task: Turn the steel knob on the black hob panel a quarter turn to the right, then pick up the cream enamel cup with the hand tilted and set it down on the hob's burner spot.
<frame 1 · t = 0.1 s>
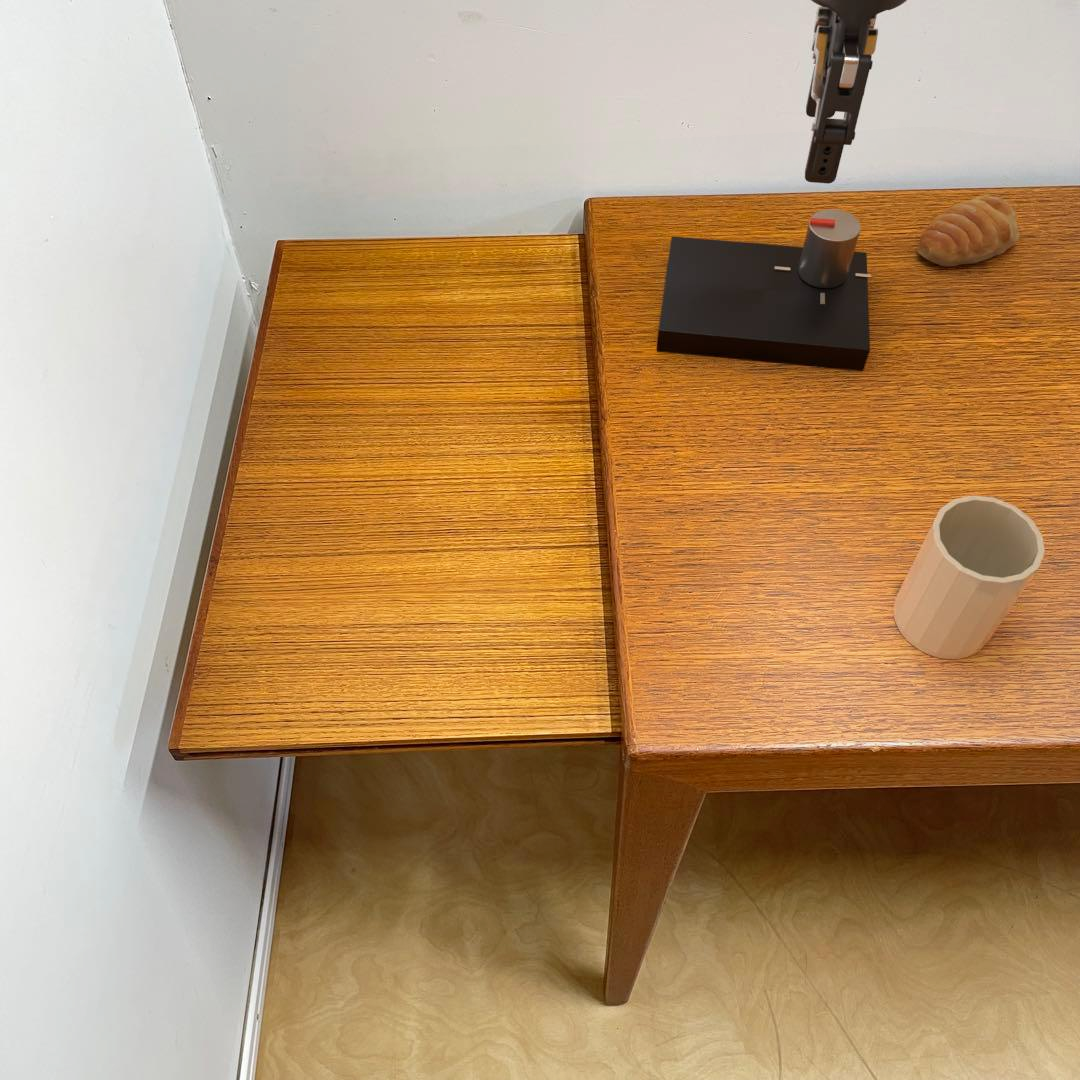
hand: (819, 146, 75), 18 cm above the table, tool pointing down, fingers open, 8 cm apart
hob: (761, 311, 91), on the table
cup: (941, 618, 72), on the table
pastry: (964, 247, 96), on the table
knob: (828, 247, 88), point 5 cm above the table, hinge at 0.0°
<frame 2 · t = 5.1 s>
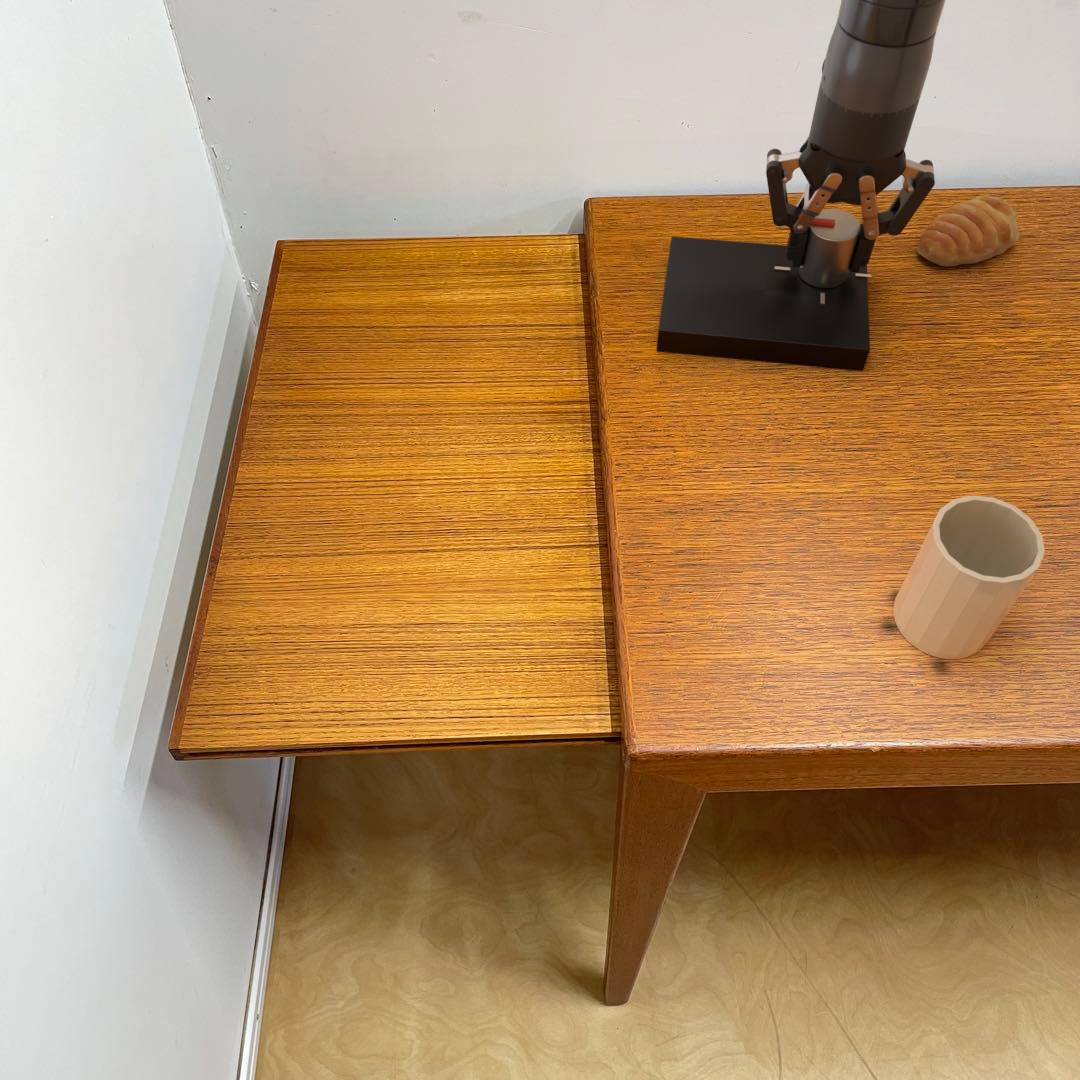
hand: (825, 263, 89), 4 cm above the table, tool pointing down, fingers closed on knob, 4 cm apart
knob: (828, 247, 88), point 5 cm above the table, hinge at 0.1°, touching gripper
everything else where it was.
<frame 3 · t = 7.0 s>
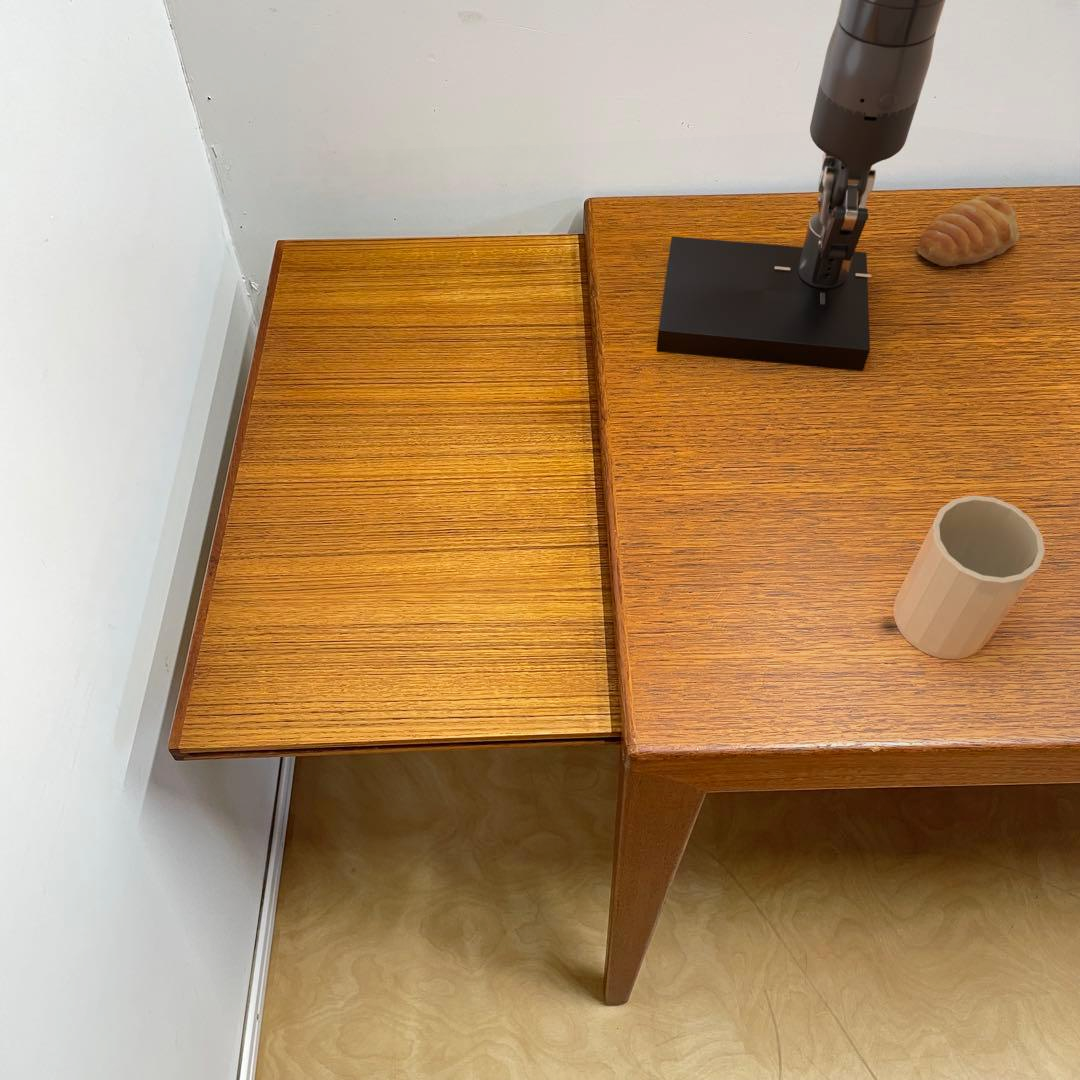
hand: (823, 262, 89), 4 cm above the table, tool pointing down, fingers closed on knob, 4 cm apart
knob: (828, 247, 88), point 5 cm above the table, hinge at -93.4°, touching gripper
everything else where it was.
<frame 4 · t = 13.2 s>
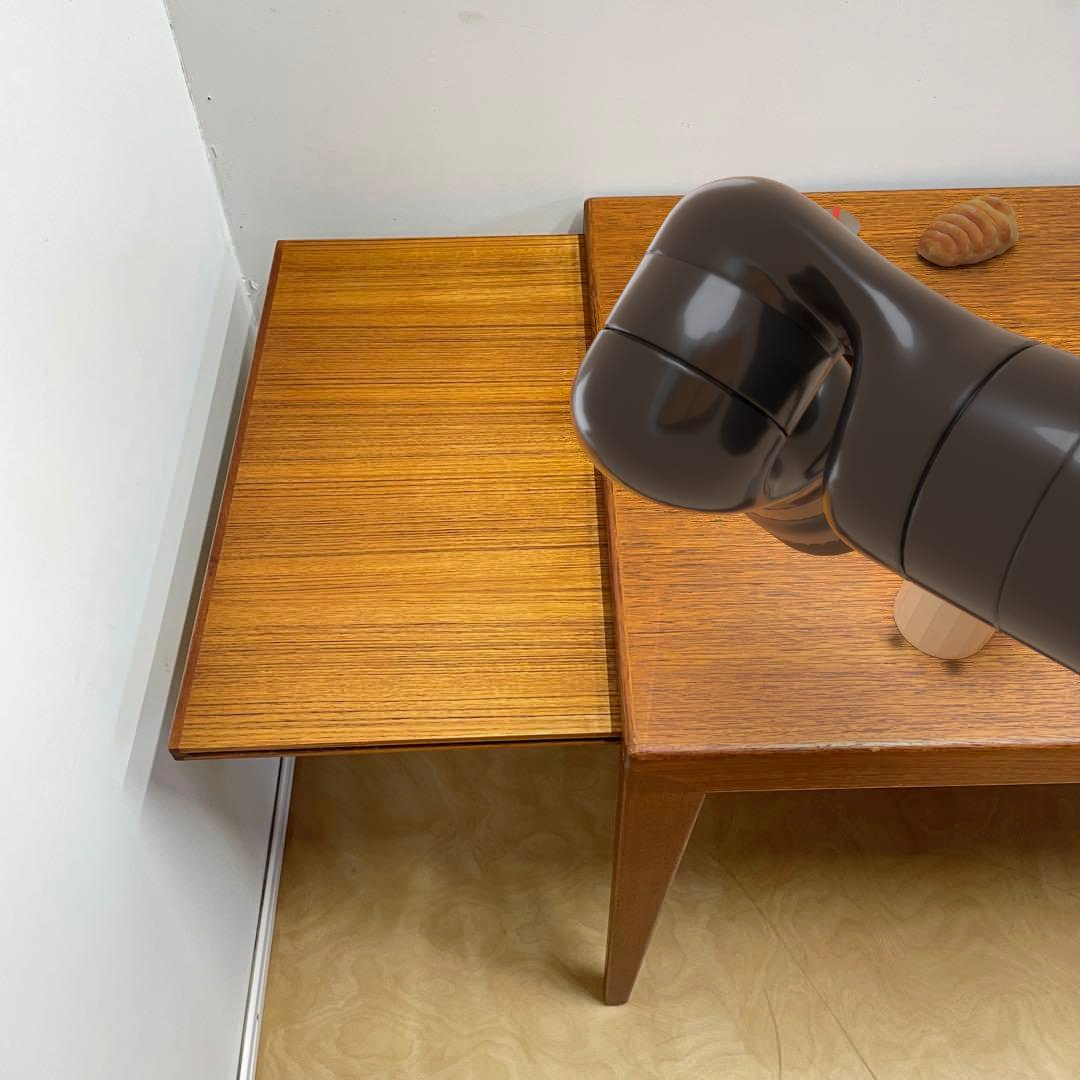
hand: (862, 523, 61), 13 cm above the table, tool tilted 35°, fingers open, 8 cm apart
knob: (828, 247, 88), point 5 cm above the table, hinge at -93.0°
everything else where it was.
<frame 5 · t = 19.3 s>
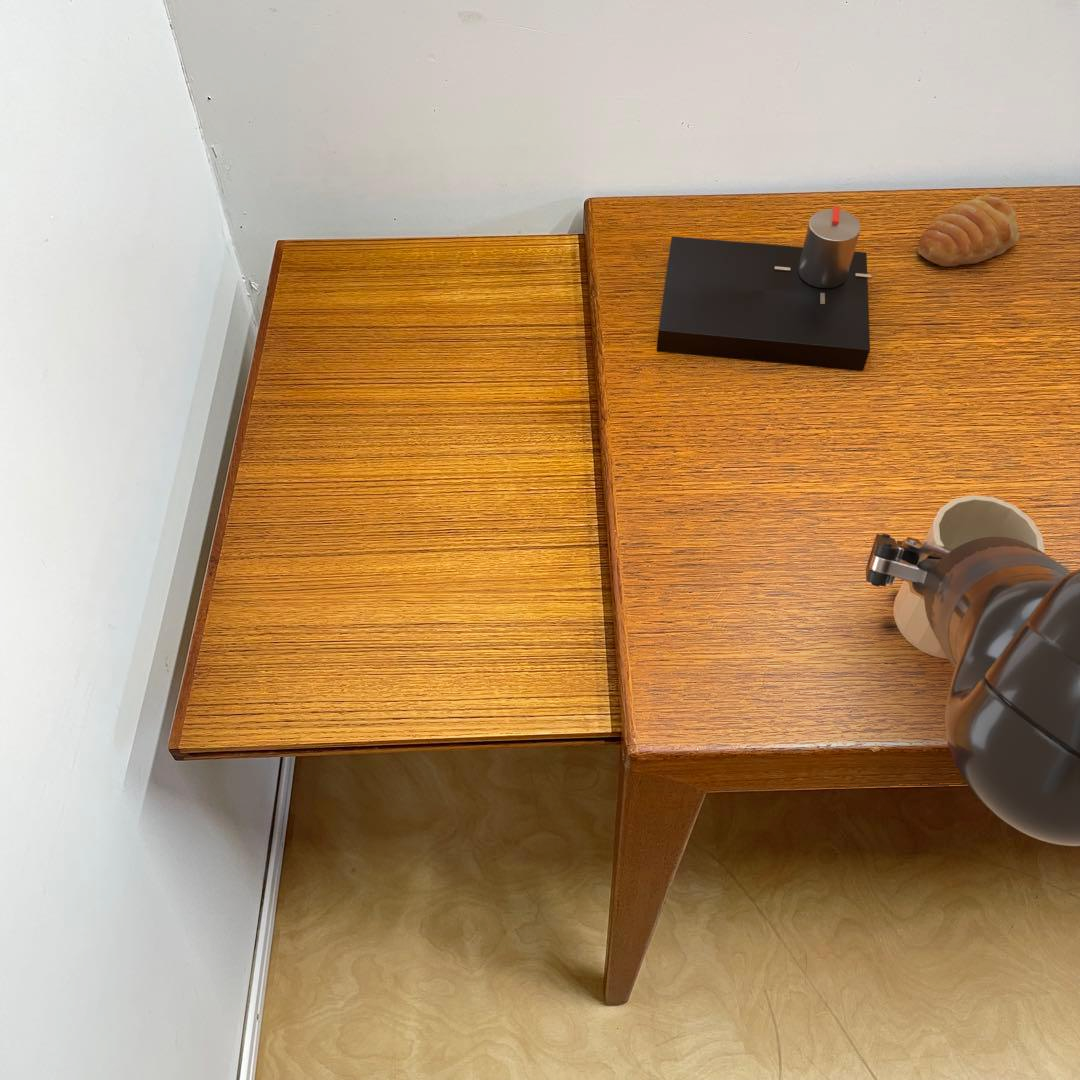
hand: (963, 567, 69), 4 cm above the table, tool tilted 45°, fingers closed on cup, 7 cm apart
cup: (941, 617, 72), on the table, touching gripper
everything else where it was.
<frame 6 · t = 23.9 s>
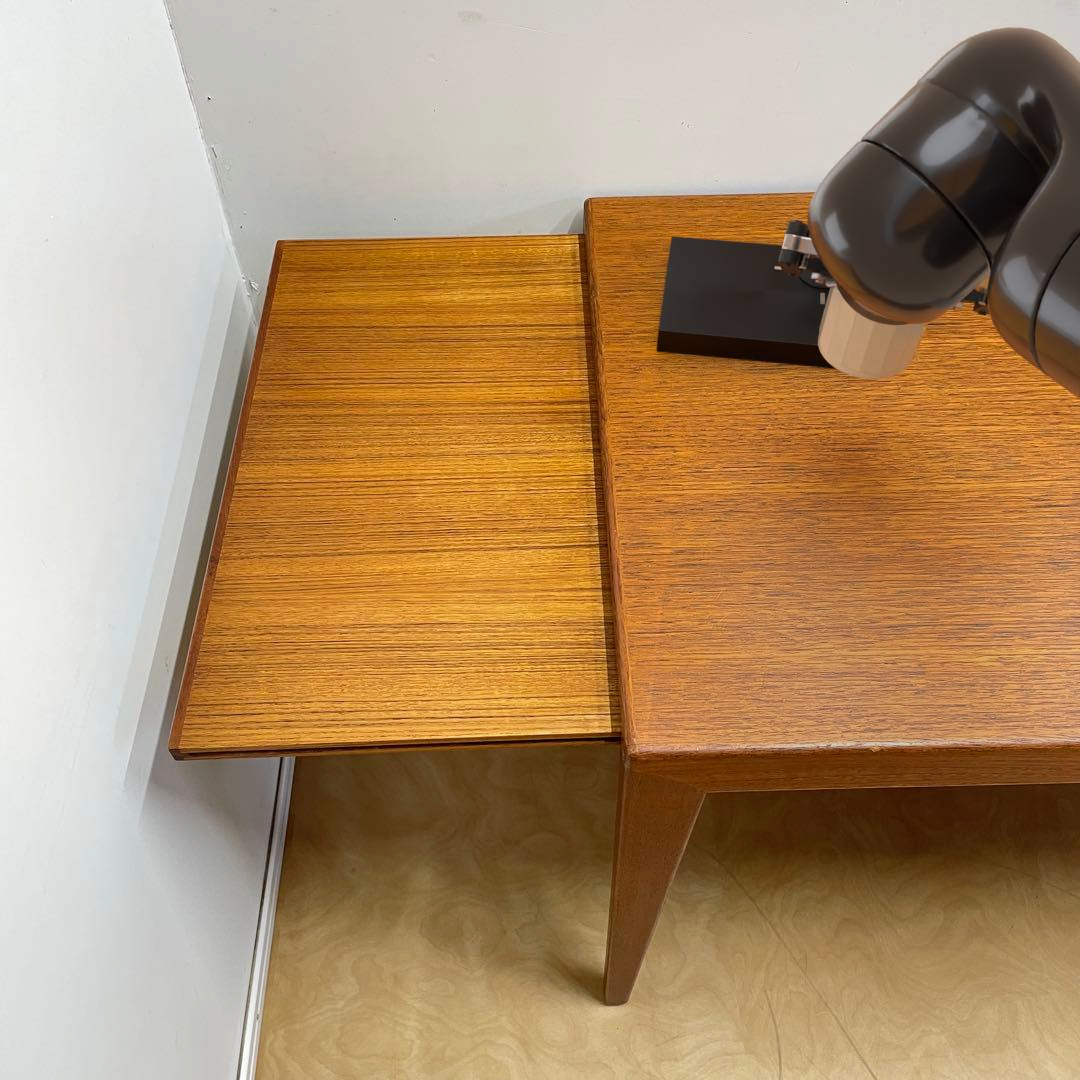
hand: (884, 282, 68), 16 cm above the table, tool tilted 45°, fingers closed on cup, 7 cm apart
cup: (865, 345, 71), point 12 cm above the table, touching gripper
everything else where it was.
when the fingers open (7 cm above the table, at t = 29.0 s): cup stays where it is, resting on hob.
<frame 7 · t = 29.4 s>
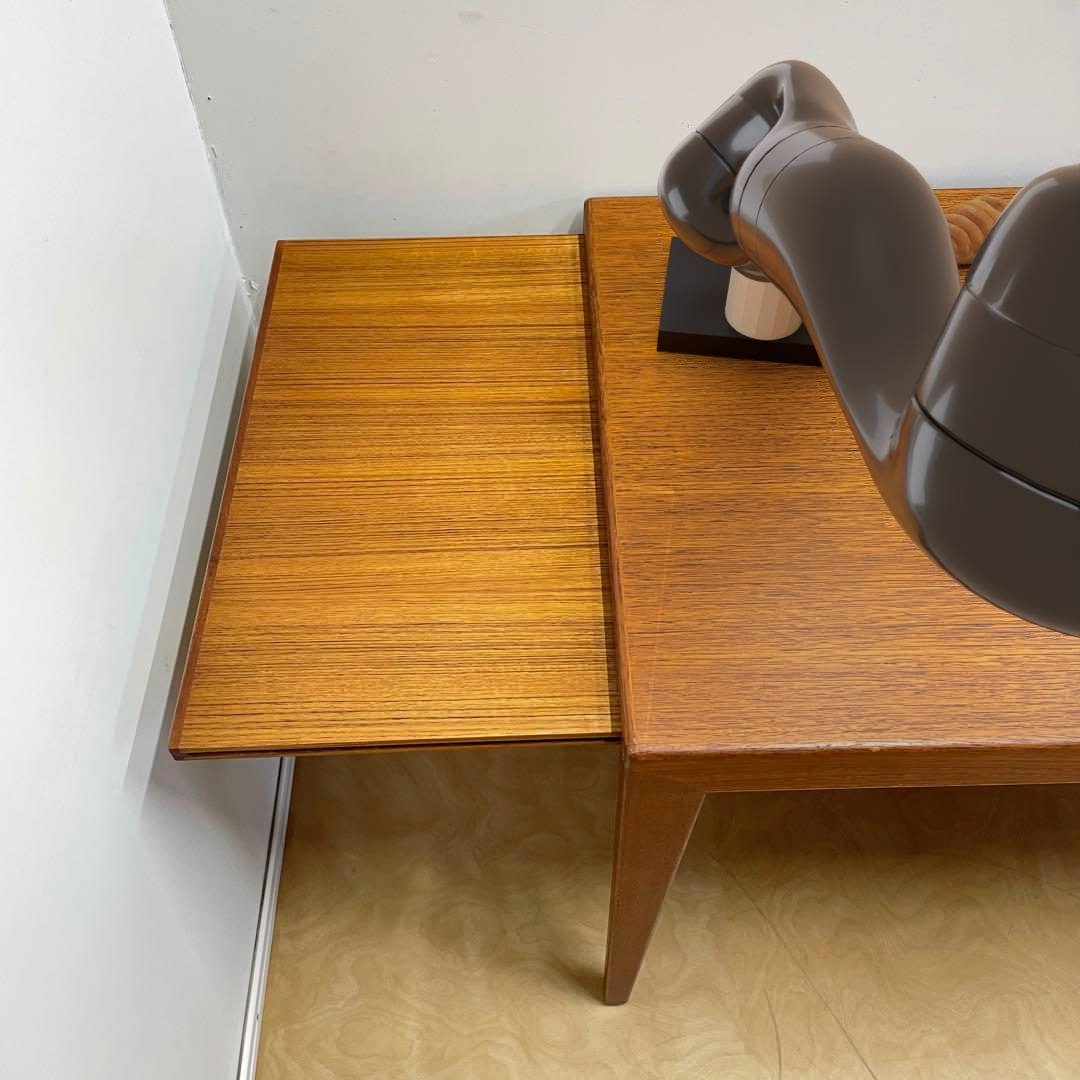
hand: (778, 253, 83), 8 cm above the table, tool tilted 45°, fingers open, 8 cm apart
cup: (763, 313, 87), point 2 cm above the table, touching hob
everything else where it was.
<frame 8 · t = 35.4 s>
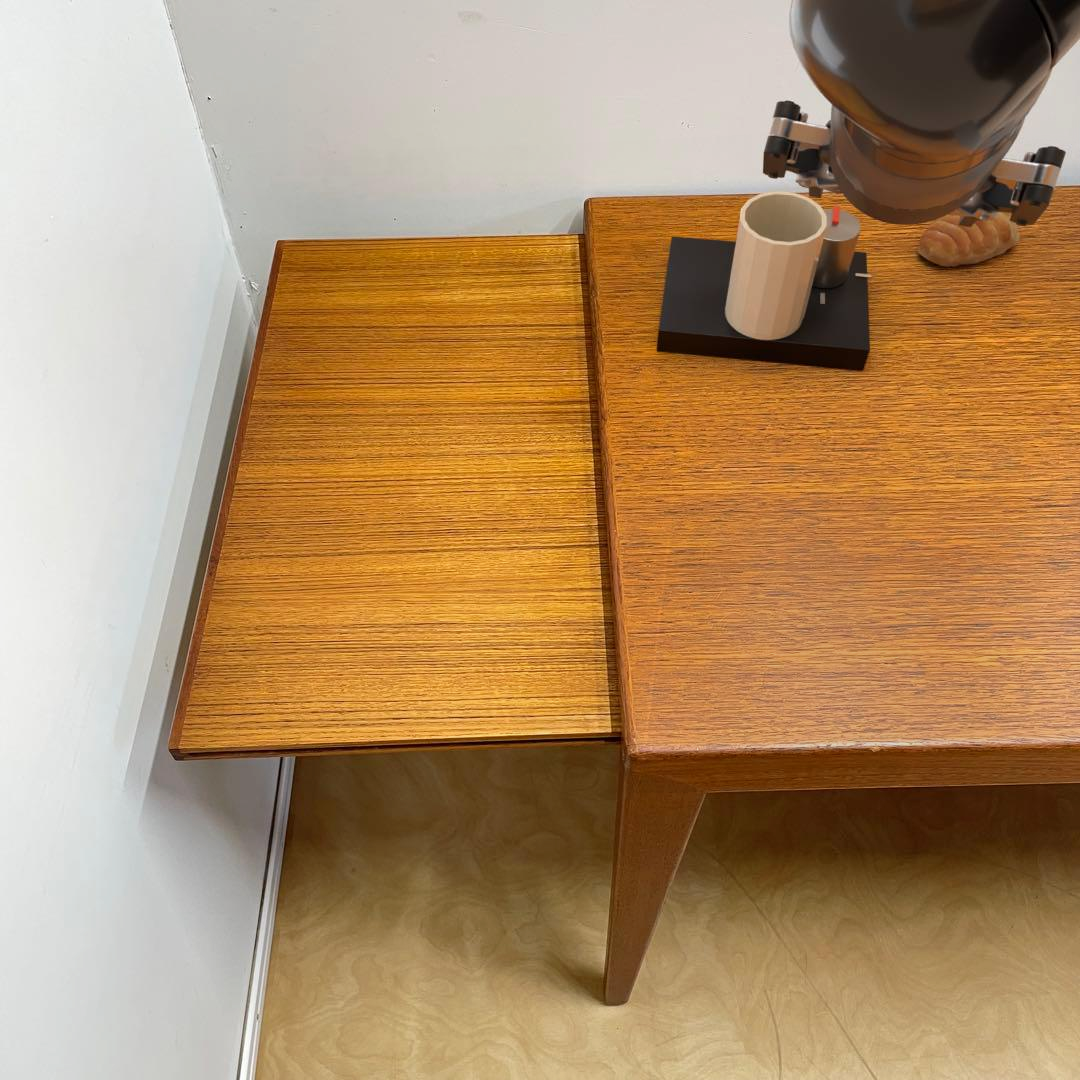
hand: (893, 193, 57), 27 cm above the table, tool tilted 45°, fingers open, 8 cm apart
nothing on the table moved.
at the end: knob at -93° (first picture: +0°); cup 0.1 cm from the target spot on the hob, point 2.5 cm above the hob's base; cup tilted 0° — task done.
